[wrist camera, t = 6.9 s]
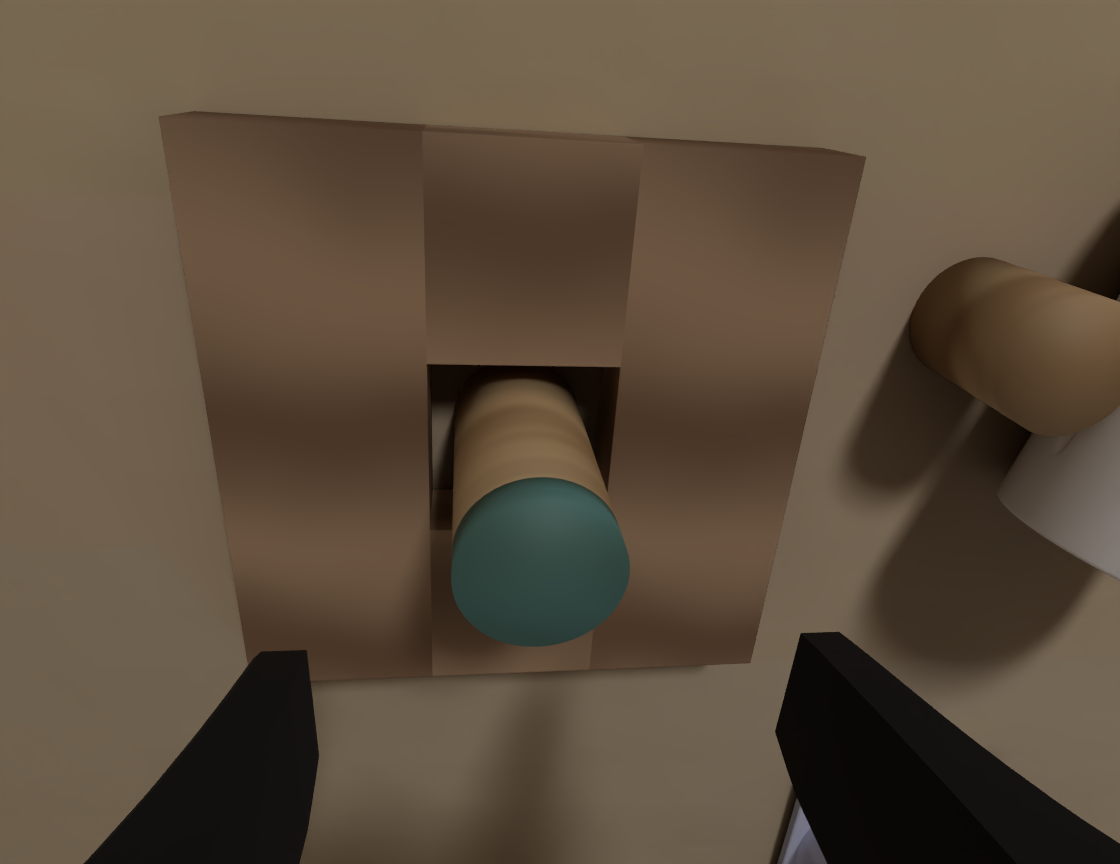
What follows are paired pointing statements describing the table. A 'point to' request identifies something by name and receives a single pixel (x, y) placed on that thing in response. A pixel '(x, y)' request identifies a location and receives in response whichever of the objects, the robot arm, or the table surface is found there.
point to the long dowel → (530, 512)
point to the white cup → (1071, 491)
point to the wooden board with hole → (498, 339)
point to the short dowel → (1022, 344)
